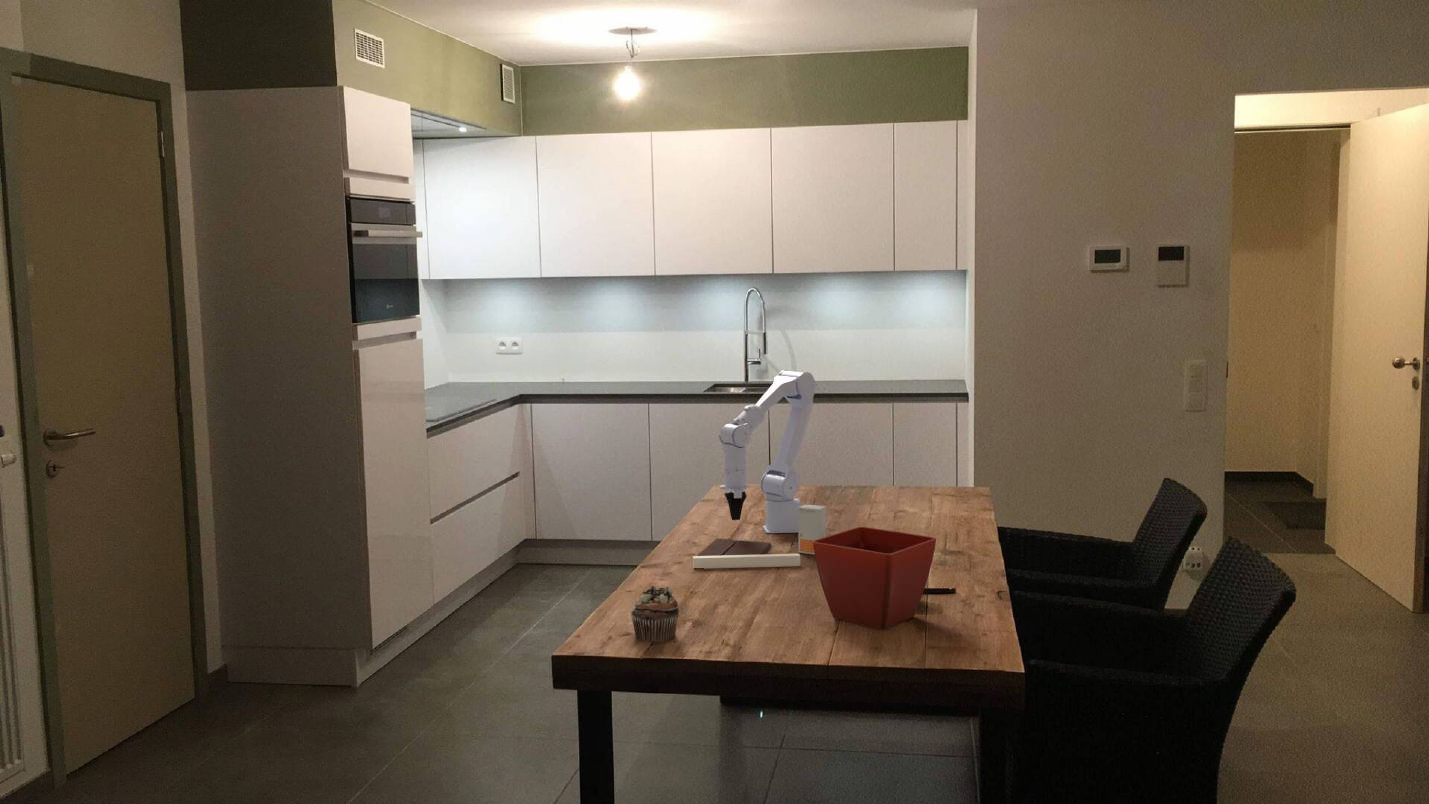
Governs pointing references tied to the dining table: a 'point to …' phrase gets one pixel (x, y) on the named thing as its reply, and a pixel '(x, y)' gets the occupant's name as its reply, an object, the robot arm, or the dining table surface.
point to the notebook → (735, 548)
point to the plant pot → (874, 574)
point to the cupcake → (655, 615)
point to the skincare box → (811, 527)
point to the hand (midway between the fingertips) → (735, 519)
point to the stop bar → (746, 561)
